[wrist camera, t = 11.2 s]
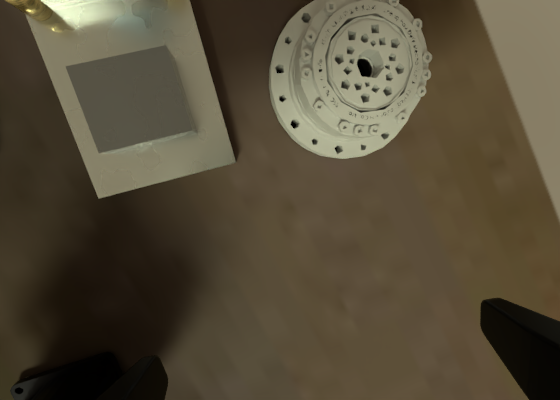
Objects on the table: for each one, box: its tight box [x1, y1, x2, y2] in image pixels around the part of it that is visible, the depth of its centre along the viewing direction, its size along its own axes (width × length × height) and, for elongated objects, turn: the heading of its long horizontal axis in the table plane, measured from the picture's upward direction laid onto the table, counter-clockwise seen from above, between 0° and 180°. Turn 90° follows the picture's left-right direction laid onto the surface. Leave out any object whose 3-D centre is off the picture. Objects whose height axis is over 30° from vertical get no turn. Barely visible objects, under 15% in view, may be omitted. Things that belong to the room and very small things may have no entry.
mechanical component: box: [269, 0, 432, 159], centre depth 16 cm, size 10×4×10 cm
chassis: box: [5, 0, 236, 199], centre depth 14 cm, size 8×18×3 cm, turn 15°
